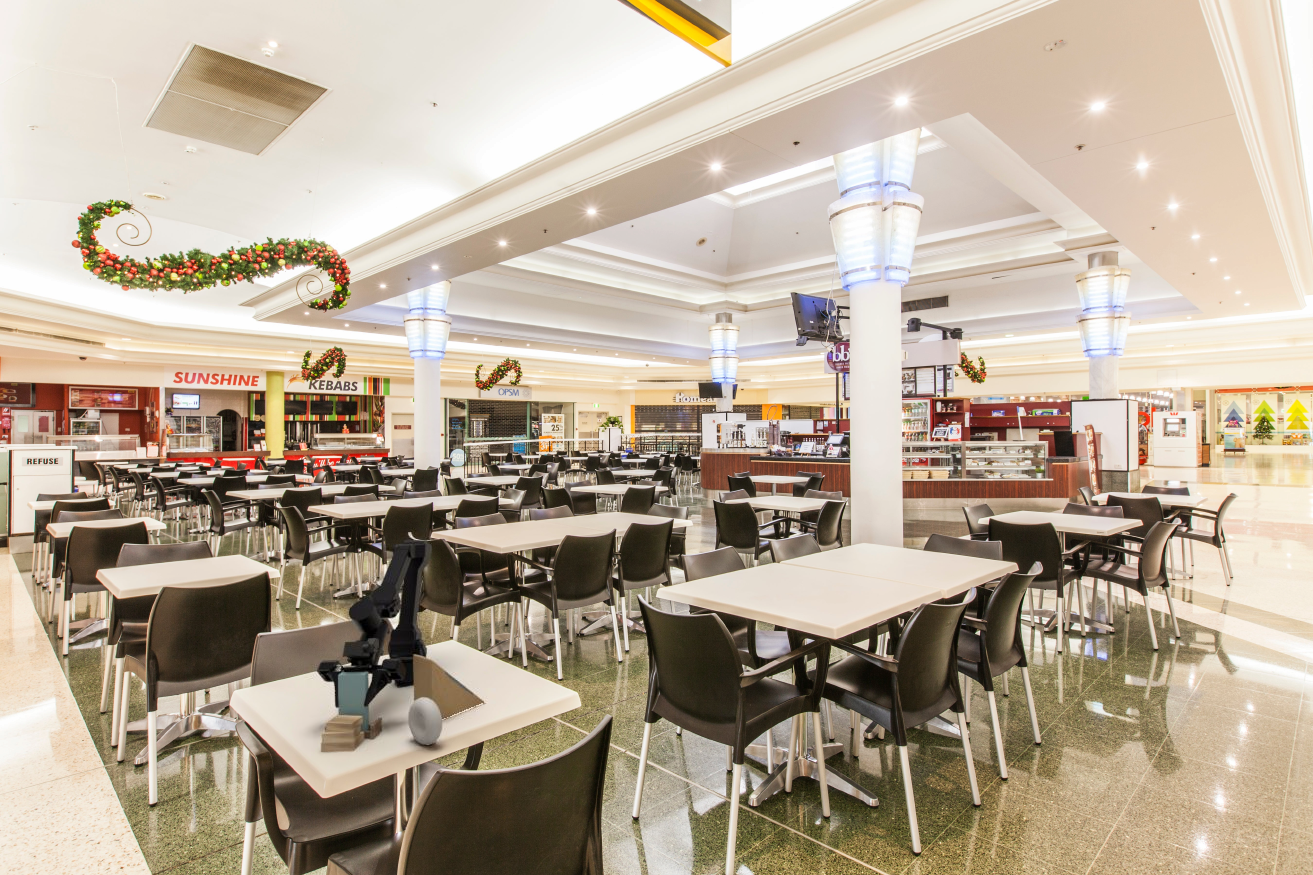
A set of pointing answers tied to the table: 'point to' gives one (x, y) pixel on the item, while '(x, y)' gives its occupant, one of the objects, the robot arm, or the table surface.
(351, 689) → the teal rectangular block
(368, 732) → the rack
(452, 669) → the table surface
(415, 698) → the sandwich container
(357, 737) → the offcut stack
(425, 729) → the donut
